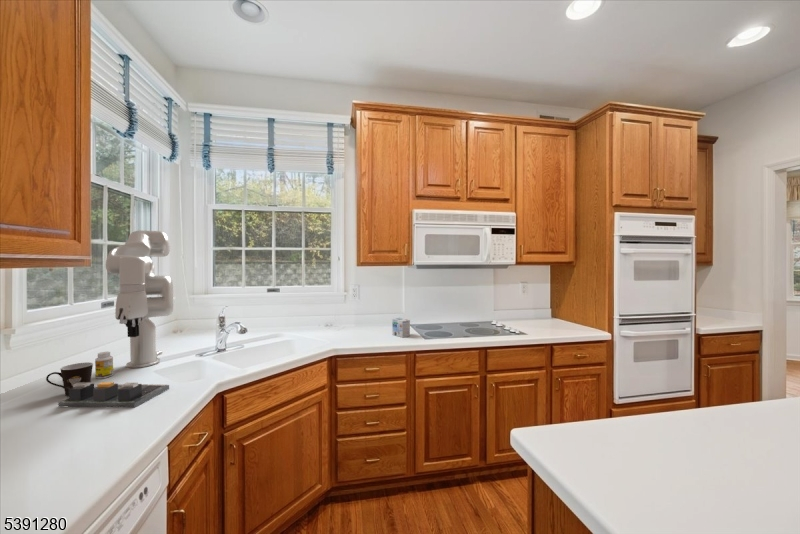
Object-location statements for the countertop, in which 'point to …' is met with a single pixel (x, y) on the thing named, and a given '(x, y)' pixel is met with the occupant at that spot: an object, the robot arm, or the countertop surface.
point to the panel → (126, 396)
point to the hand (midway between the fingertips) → (133, 336)
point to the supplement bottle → (104, 365)
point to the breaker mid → (105, 391)
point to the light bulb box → (401, 327)
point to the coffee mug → (73, 375)
